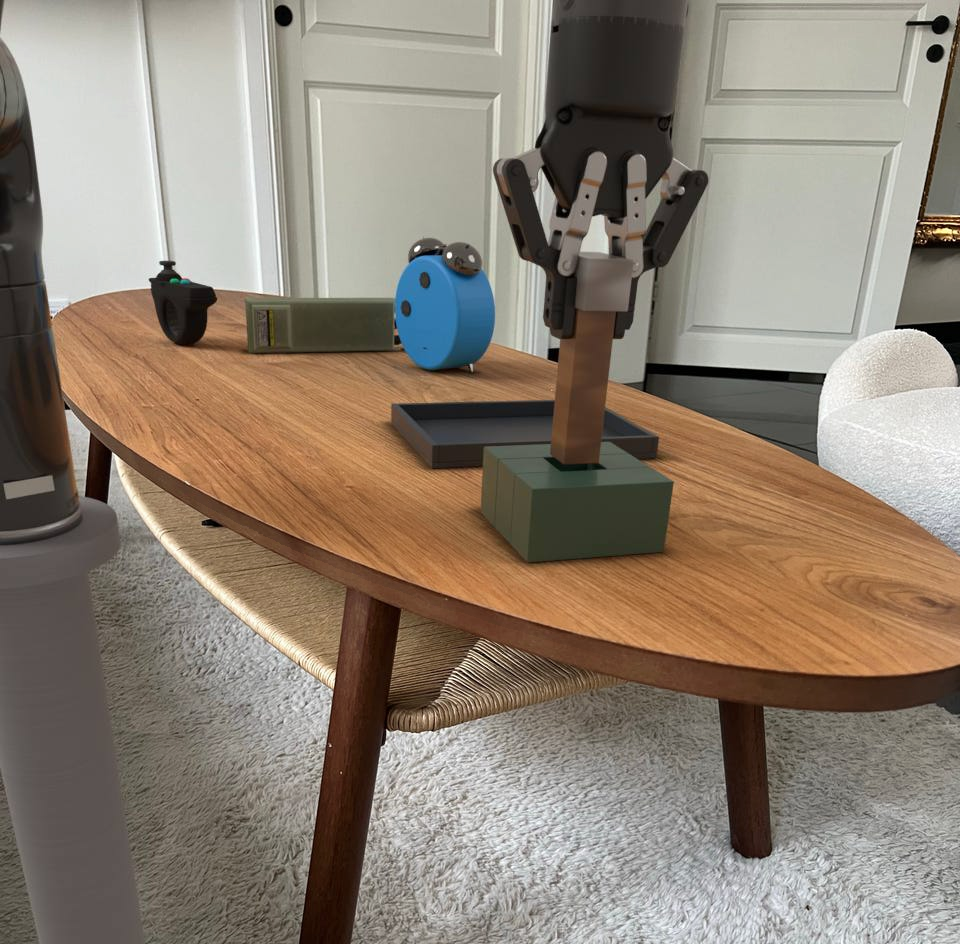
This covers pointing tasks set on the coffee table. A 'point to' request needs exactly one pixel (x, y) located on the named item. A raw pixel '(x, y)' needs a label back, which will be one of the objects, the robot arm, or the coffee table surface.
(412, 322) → the alarm clock
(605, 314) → the brown and grey block
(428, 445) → the tray
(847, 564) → the coffee table surface
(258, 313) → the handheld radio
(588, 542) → the holder
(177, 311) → the controller
